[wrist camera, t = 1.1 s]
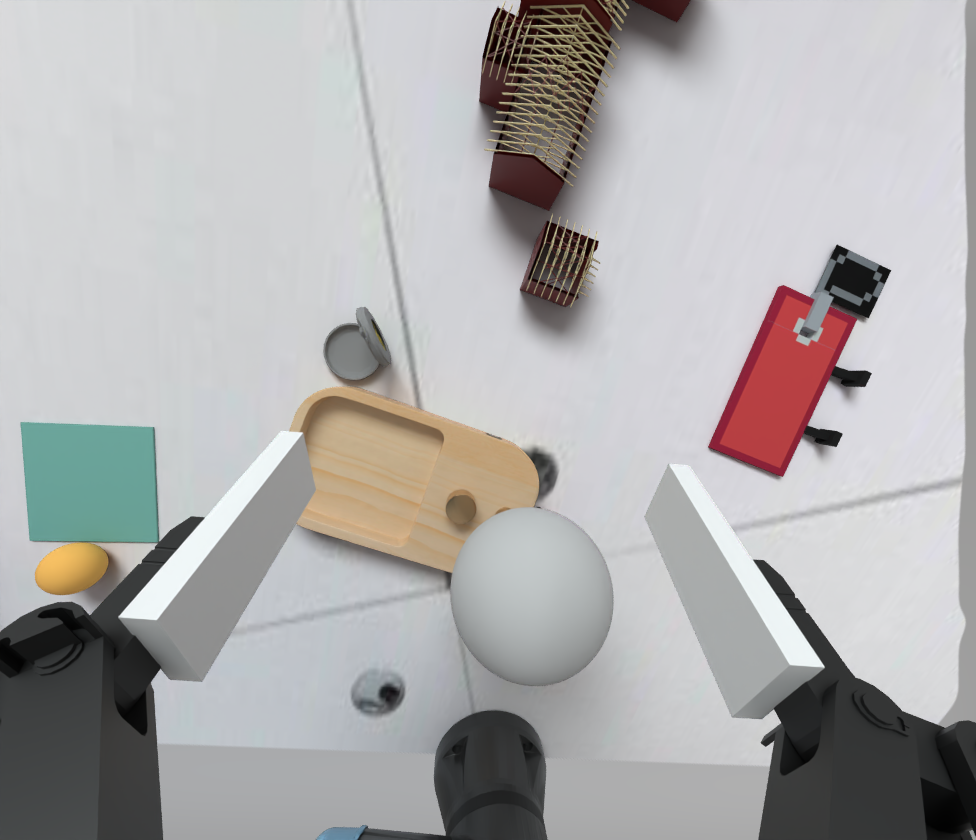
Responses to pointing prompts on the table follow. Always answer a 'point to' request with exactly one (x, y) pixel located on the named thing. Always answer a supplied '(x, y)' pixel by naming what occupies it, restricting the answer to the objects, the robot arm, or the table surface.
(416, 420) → the lamp
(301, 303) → the table surface
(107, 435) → the green mark
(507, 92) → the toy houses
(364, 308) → the pocket watch
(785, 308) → the red board with handle
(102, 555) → the orange ball
